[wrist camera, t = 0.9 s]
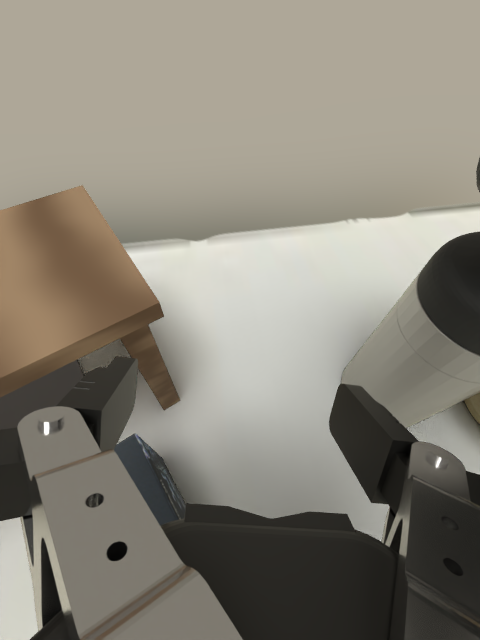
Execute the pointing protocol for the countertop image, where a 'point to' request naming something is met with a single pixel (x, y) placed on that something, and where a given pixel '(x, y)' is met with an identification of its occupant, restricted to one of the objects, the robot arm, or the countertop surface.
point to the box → (151, 479)
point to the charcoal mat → (38, 394)
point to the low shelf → (71, 293)
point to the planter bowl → (474, 406)
